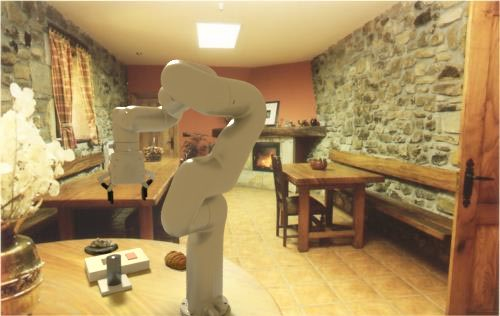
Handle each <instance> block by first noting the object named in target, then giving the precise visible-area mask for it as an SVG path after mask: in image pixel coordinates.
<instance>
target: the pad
mask: <svg viewBox="0 0 500 316" xmlns="http://www.w3.org/2000/svg"><path fill="white" fill-rule="evenodd" d="M97 286H98V289H99V292H100V295H101V296H102V297H103V296H107V295H110V294H115V293H118V292H122V291H126V290H131V289H132V288H133V287H132V283H131V282H130V279H129V277H128V276H127V274H123V275H122V282H121V284H119V285H116V286H108V285H107V278H106V279H102V280H98V281H97Z"/></svg>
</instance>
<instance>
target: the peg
mask: <svg viewBox="0 0 500 316" xmlns="http://www.w3.org/2000/svg"><path fill="white" fill-rule="evenodd" d="M106 266H107V285H108V286H116V285H119V284H121V282H122V274H121V255H120V254H112V255H109V256H107V257H106Z"/></svg>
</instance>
